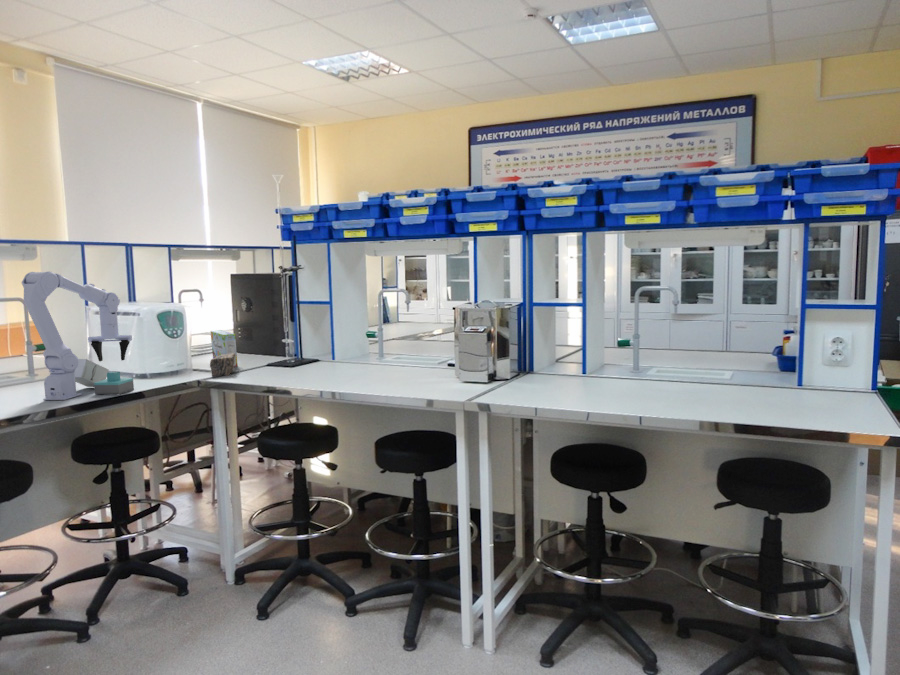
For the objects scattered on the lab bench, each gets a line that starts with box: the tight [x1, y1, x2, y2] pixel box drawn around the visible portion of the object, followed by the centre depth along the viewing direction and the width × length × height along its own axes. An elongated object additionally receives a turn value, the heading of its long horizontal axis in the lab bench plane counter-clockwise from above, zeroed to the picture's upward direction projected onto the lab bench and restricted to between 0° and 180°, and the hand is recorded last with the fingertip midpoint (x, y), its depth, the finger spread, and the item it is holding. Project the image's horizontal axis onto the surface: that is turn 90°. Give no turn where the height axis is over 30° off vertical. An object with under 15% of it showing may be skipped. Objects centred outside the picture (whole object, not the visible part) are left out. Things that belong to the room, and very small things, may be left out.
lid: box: [94, 371, 134, 385], centre depth 228 cm, size 9×9×4 cm
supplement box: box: [75, 358, 110, 388], centre depth 234 cm, size 7×7×13 cm
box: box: [93, 380, 135, 395], centre depth 229 cm, size 9×9×4 cm
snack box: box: [210, 329, 238, 368], centre depth 290 cm, size 21×6×15 cm, turn 37°
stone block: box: [209, 353, 235, 377], centre depth 265 cm, size 14×9×8 cm, turn 4°
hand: (111, 360), depth 238 cm, fingers open, 7 cm apart
